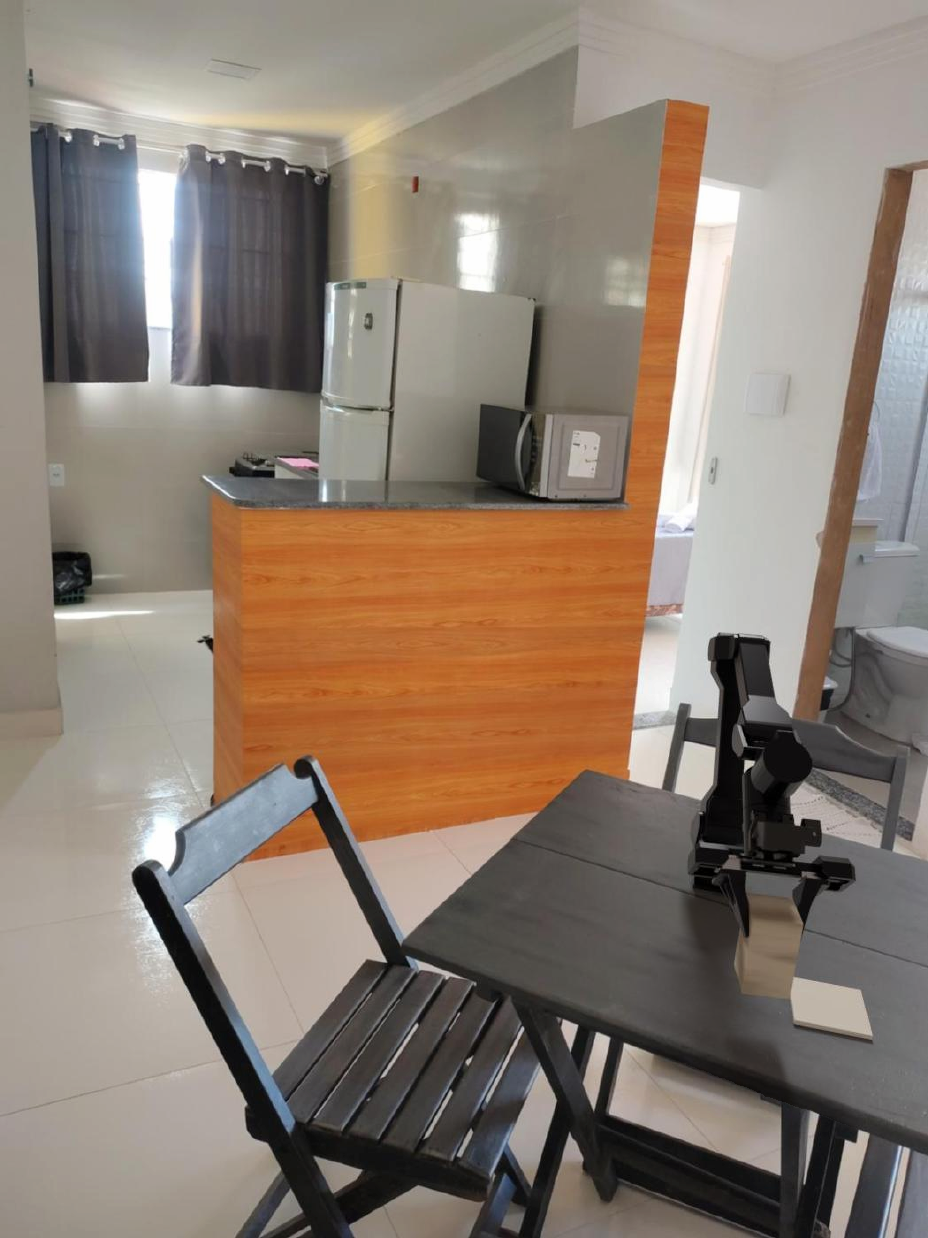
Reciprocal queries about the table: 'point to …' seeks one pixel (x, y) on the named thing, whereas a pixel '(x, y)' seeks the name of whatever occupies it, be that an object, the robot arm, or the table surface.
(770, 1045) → the table surface
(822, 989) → the cream tile
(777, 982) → the brass block
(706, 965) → the table surface
